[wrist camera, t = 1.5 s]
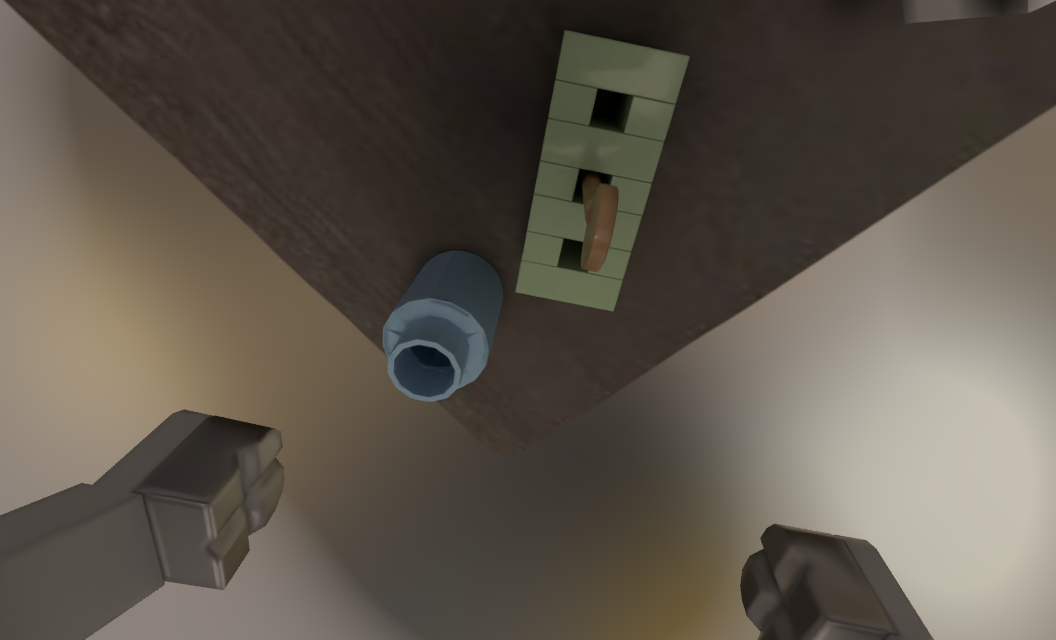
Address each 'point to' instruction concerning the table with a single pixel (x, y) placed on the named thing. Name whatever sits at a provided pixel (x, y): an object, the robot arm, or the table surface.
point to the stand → (596, 163)
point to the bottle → (443, 326)
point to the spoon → (597, 219)
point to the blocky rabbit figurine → (965, 8)
